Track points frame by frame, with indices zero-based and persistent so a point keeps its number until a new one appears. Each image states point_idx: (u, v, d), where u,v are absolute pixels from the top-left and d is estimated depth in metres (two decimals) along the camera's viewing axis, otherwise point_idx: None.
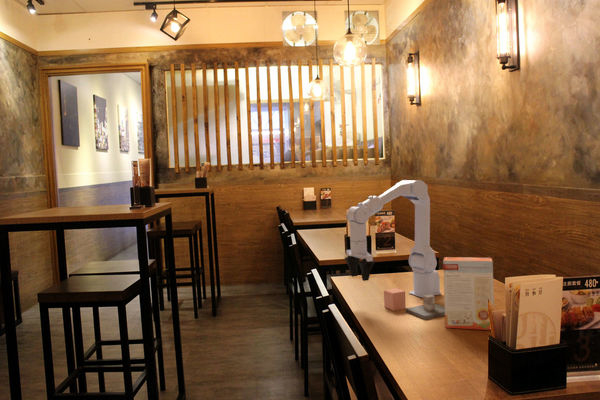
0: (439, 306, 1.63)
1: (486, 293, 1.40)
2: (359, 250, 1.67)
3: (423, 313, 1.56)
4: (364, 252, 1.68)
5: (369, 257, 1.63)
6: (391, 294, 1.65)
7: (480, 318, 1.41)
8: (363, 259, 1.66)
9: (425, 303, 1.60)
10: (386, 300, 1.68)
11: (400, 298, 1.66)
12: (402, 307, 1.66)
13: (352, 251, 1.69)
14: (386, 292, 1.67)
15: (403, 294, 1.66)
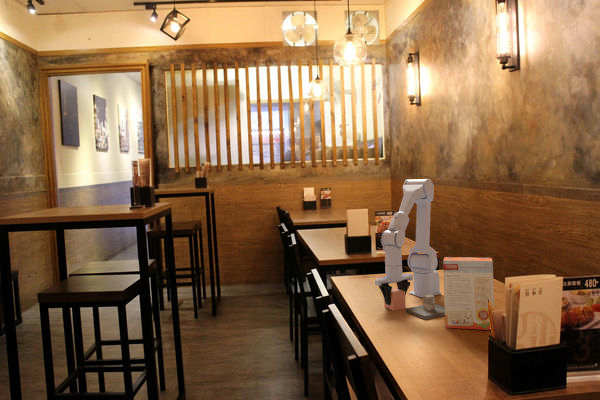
0: (439, 306, 1.63)
1: (486, 293, 1.40)
2: None
3: (423, 313, 1.56)
4: (388, 277, 1.66)
5: (376, 281, 1.65)
6: (391, 294, 1.65)
7: (480, 318, 1.41)
8: None
9: (425, 303, 1.60)
10: None
11: (400, 298, 1.66)
12: (402, 307, 1.66)
13: None
14: None
15: (403, 294, 1.66)
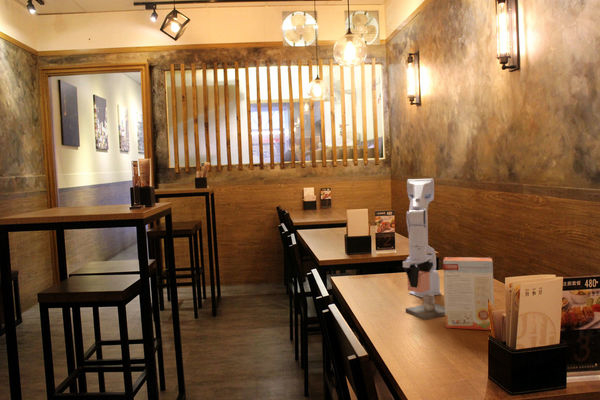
0: (439, 306, 1.63)
1: (486, 293, 1.40)
2: (410, 255, 1.60)
3: (423, 313, 1.56)
4: (414, 258, 1.59)
5: (404, 263, 1.57)
6: (418, 276, 1.59)
7: (480, 318, 1.41)
8: None
9: (425, 303, 1.60)
10: None
11: (426, 279, 1.60)
12: (427, 289, 1.61)
13: None
14: None
15: (428, 275, 1.61)
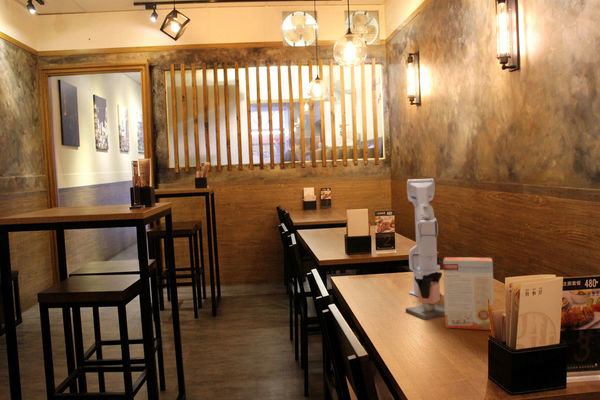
0: (439, 306, 1.63)
1: (486, 293, 1.40)
2: (421, 265, 1.58)
3: (423, 313, 1.56)
4: (426, 269, 1.57)
5: (417, 274, 1.54)
6: (430, 287, 1.57)
7: (480, 318, 1.41)
8: None
9: (425, 303, 1.60)
10: None
11: (436, 290, 1.59)
12: (438, 299, 1.59)
13: None
14: None
15: (438, 285, 1.60)
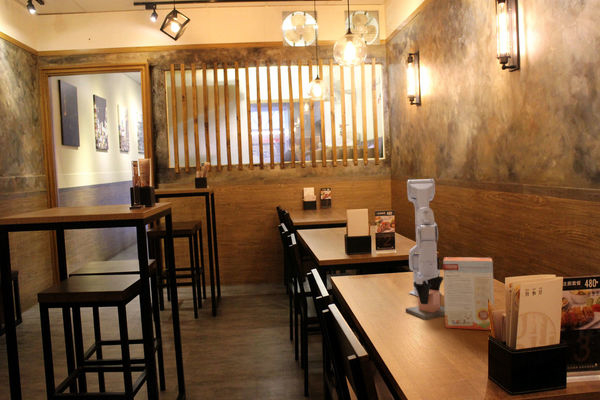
0: None
1: (486, 293, 1.40)
2: (421, 270, 1.58)
3: (423, 313, 1.56)
4: (426, 274, 1.57)
5: (417, 279, 1.54)
6: (430, 295, 1.57)
7: (480, 318, 1.41)
8: None
9: None
10: None
11: (437, 298, 1.59)
12: (438, 308, 1.60)
13: None
14: None
15: (438, 294, 1.60)
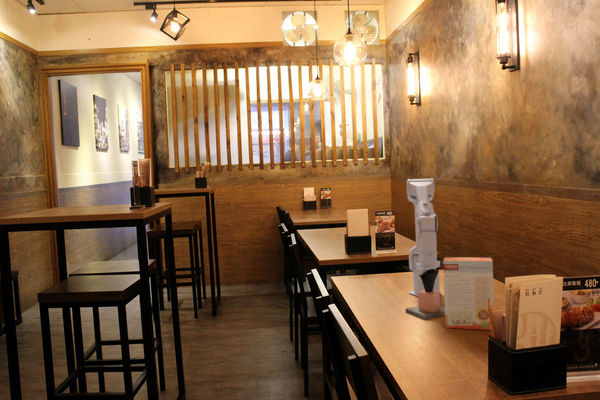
0: None
1: (486, 293, 1.40)
2: (421, 261, 1.58)
3: (423, 313, 1.56)
4: (426, 265, 1.57)
5: (417, 270, 1.54)
6: (430, 295, 1.57)
7: (480, 318, 1.41)
8: None
9: None
10: (422, 303, 1.59)
11: (437, 298, 1.59)
12: (438, 308, 1.60)
13: None
14: (422, 294, 1.59)
15: (438, 294, 1.60)
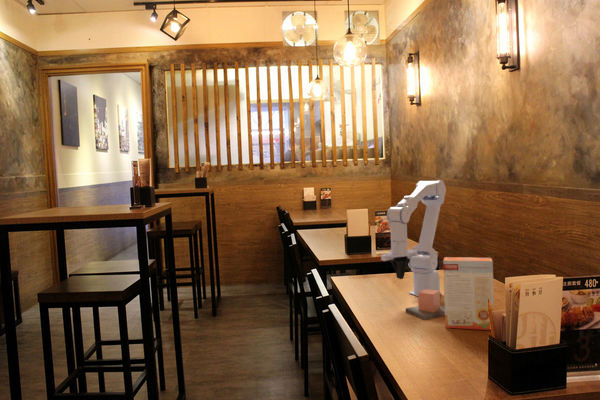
0: None
1: (486, 293, 1.40)
2: (391, 249, 1.70)
3: (423, 313, 1.56)
4: (394, 252, 1.69)
5: (382, 256, 1.68)
6: (430, 295, 1.57)
7: (480, 318, 1.41)
8: None
9: None
10: (422, 303, 1.59)
11: (437, 298, 1.59)
12: (438, 308, 1.60)
13: None
14: (422, 294, 1.59)
15: (438, 294, 1.60)
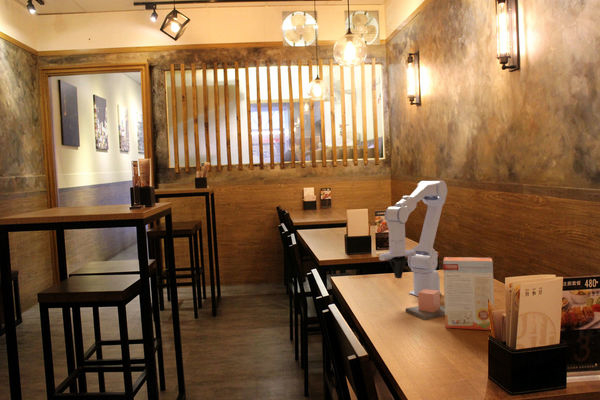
0: None
1: (486, 293, 1.40)
2: (389, 249, 1.71)
3: (423, 313, 1.56)
4: (392, 252, 1.69)
5: (380, 256, 1.68)
6: (430, 295, 1.57)
7: (480, 318, 1.41)
8: None
9: None
10: (422, 303, 1.59)
11: (437, 298, 1.59)
12: (438, 308, 1.60)
13: None
14: (422, 294, 1.59)
15: (438, 294, 1.60)
